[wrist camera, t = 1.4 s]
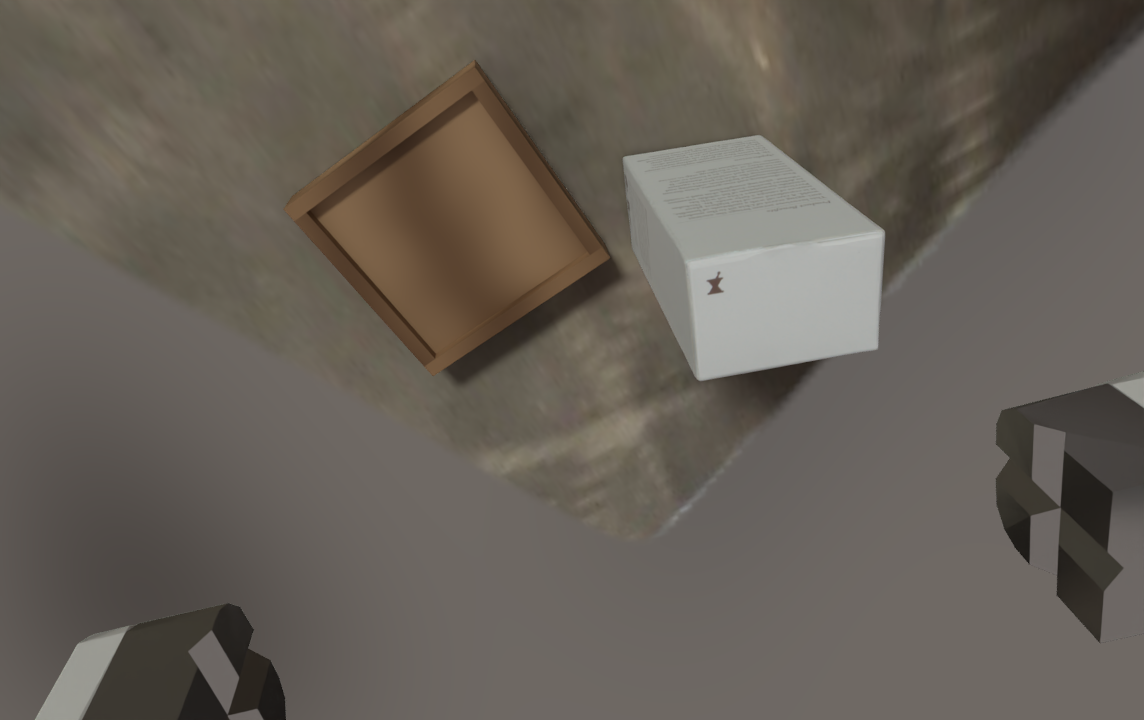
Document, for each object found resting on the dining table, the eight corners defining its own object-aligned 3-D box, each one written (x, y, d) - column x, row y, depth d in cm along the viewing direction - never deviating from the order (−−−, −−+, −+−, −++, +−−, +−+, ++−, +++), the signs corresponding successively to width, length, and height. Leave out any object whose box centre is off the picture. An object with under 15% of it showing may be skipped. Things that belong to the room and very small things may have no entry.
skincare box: (630, 251, 37) (691, 386, 26) (620, 154, 35) (681, 258, 24) (768, 228, 37) (883, 354, 27) (765, 131, 35) (889, 224, 25)
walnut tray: (474, 59, 33) (474, 66, 31) (604, 243, 37) (610, 258, 35) (292, 196, 34) (283, 209, 33) (434, 358, 38) (432, 376, 37)
